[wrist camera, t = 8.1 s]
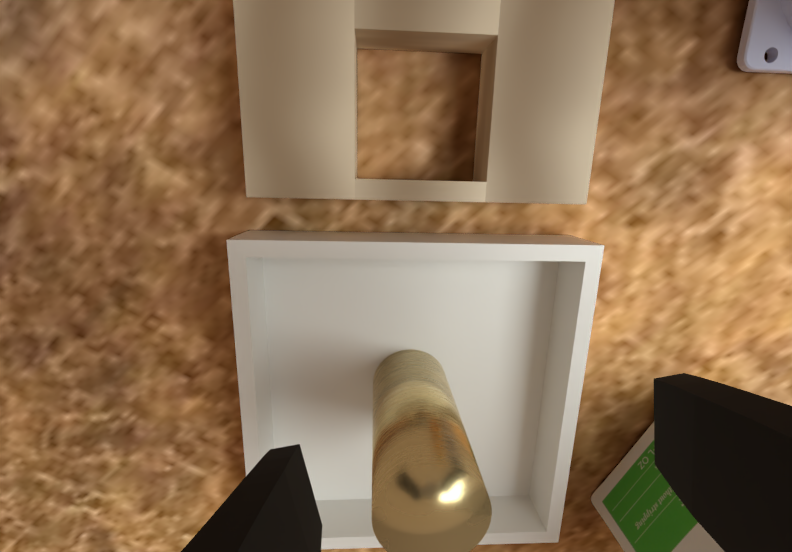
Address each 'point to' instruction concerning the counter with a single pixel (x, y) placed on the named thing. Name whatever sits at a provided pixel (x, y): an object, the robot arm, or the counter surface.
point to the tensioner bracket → (433, 32)
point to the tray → (420, 330)
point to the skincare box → (648, 507)
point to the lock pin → (423, 461)
